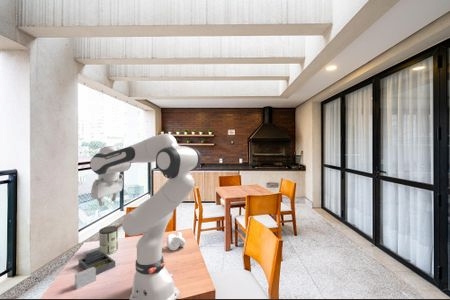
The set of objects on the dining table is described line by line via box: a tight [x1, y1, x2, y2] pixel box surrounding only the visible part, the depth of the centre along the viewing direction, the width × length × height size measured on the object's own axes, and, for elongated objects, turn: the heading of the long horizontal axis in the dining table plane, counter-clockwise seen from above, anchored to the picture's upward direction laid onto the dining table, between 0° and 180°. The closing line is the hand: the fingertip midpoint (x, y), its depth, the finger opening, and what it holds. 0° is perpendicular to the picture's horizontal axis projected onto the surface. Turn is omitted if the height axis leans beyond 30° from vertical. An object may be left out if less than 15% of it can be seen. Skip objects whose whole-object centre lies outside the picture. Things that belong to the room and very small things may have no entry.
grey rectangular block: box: [74, 267, 97, 290], centre depth 101 cm, size 3×8×6 cm, turn 142°
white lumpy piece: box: [166, 231, 186, 251], centre depth 138 cm, size 11×12×9 cm
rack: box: [78, 246, 116, 276], centre depth 115 cm, size 18×12×7 cm
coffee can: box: [99, 225, 119, 256], centre depth 132 cm, size 10×10×14 cm
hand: (107, 203), depth 110 cm, fingers open, 8 cm apart
